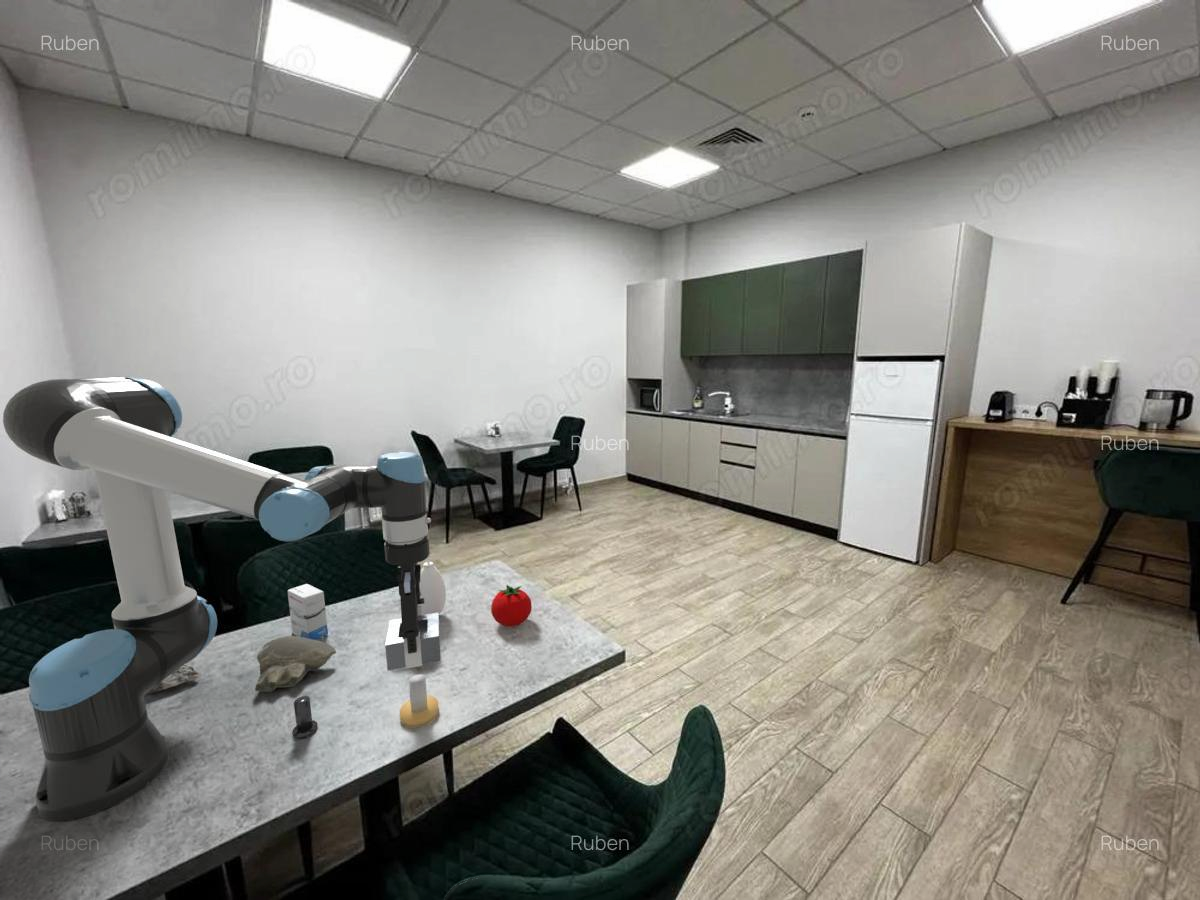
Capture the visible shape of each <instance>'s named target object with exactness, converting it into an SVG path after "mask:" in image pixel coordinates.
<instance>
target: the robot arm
mask: <svg viewBox="0 0 1200 900" xmlns="http://www.w3.org/2000/svg"><path fill="white" fill-rule="evenodd" d="M182 422H183V413H182V409H181V406H180V404H179V402H178V400H177V399H176V397H175V396H174V395H173V394H172V393H171V392H170V391H169V390H168V389H166V388H164V387H163V386H162V385H161V384H159V383H158V382H156V381H153V380H150V379H146V378H142V377H129V376H128V377H127V376H113V377H96V378H93V377H92V378H72V379H69V378H61V379H60V378H59V379H48V380H47V379H46V380H43V381H42V380H41V381H38V382H36V383H32V384H30V385H28V386H26V387H24V388H21V389H20V390H19V391H18V392H16V393H15V394H14V395H13V396H12V397H11V398H10V399H9V401H8V402H7V403H6V405H5V407H4V410H3V417H2V423H3V428H4V430H5V432H6V434H7V436H8V438H9V439H10V440H11V441H12V442H13V443H14V445H15V446H16V447H18V448H19V449H20V450H22V451H23V452H25V453H27V454H28V455H30V456H32V457H34V458H36V459H38V460H41V461H43V462H46V463H49V464H51V465H53V466H54V465H55V466H58V467H62V468H65V469H67V470H72V471H84V470H89V469H92V470H93V471H94V476H95V480H96V485H97V490H98V495H99V499H100V500H99V501H100V504H101V505H100V506H101V510H102V515H103V519H104V523H105V528H106V533H107V537H108V543H109V549H110V551H111V557H112V562H113V567H114V572H115V577H116V580H117V581H116V582H117V586H118V590H119V595H120V600H121V601H120V603H118V605H117V606H116V607H115V608H114V609H113V610H112V612H111V619H112V623H113V628H111V629H105V630H99V631H95V632H92V633H88V634H85V635H84V636H83V637H82V638H81V637H80V638H74V639H72V640H70V641H66V642H65V643H63V644H61V645H60V646H58V647H56V648H54V649H52V650H50V652H48V653H46V654H45V655H44V656H43V657H42V658H41V659H40V660H38V661H37V663H36V664H35V665H34V666H33V668H32V670H30V673H29V676H28V684H29V690H30V691H29V694H28V696H29V701H30V704H31V706H32V709H33V712H34V716H35V721H36V724H37V728H38V733H39V736H40V737H39V738H40V742H41V747H42V751H43V754H44V755H43V756H44V763H43V766H42V771H41V774H40V778H39V783H38V784H37V785H38V786H37V789H36V793H35V804H36V809H37V812H38V814H39V816H40V817H41V818H43V819H44V820H47V821H52V822H61V821H60V820H65V821H70V820H69V819H72V820H75V819H74V818H77V819H80V817H81V818H84V817H87V816H91V815H93V814H96V813H99V812H101V811H103V810H106V809H108V808H110V806H111V807H113V806H115V805H117V804H119V803H120V802H123V801H124V800H126V799H127V798H129V797H131V796H133V795H134V794H136V793H137V792H138V790H139V791H140V790H142V789H143V788H144V787H145V786H147V785H148V784H149V783H151V780H152V779H153V778H154V779H155V778H156V777H157V776H158V775H159V774H160V773H161V772H162V771H163V769H164V767H165V766H166V765H167V763H168V760H169V756H170V753H169V747H168V743H167V740H166V738H165V737H164V736H163V735H162V734H161V732H160V730H159V729H158V728H157V727H156V726H155V724H154V723H153V722H152V720H151V719H149V716H148V712H147V711H148V710H147V706H146V701H145V697H146V694H148V693H147V692H149V691H150V690H151V689H152V688H154V687H155V686H156V685H158V684H159V683H160V682H162V681H163V680H164V679H165V678H167V677H168V676H169V675H171V674H172V673H173V672H175V671H176V670H177V669H179V668H180V667H181V666H182V665H187V664H188V663H190V662H191V661H192V660H194V659H195V658H196V657H197V656H198V655H199V654H201V653H202V651H203V650H204V649H205V648H207V647H208V646H209V644H210V643H211V642H212V641H213V639H214V638H215V635H216V632H217V627H218V618H217V617H218V616H217V613H216V611H215V608H214V606H212V604H207V602H208V600H207V599H205V598H203V597H202V596H199V595H198V594H197V593H198V592H197V591H196V590H195V589H194V588H191V587H189V586H186V585H185V581H184V575H183V570H182V565H181V560H180V554H179V548H178V542H177V537H176V532H175V530H176V529H175V526H174V525H175V524H174V520H173V516H172V515H173V513H172V509H171V504H170V497H169V494H168V493H171V494H174V495H178V496H180V497H184V498H187V499H191V500H194V501H197V502H201V503H204V504H207V505H210V506H214V507H216V508H220V509H223V510H226V511H230V512H232V513H235V514H239V515H243V516H245V517H248V518H252V519H255V520H258V521H259V523H260V526H261V528H262V529H263V530H264V532H267V534H269V535H270V537H271V538H273V539H275V540H278V541H280V542H281V541H282V542H295V541H299V540H301V539H303V538H305V537H308V536H310V535H312V534H315V533H316V532H318V531H320V530H321V529H322V528H323V527H324V526H325V525H327V524H329V523H330V522H332V521H333V520H335V519H337V518H338V517H340V516H341V515H343V514H344V513H347V512H348V511H349V510H352V509H368V508H369V509H375V508H380V510H381V525H382V526H381V527H382V535H383V540H384V541H385V542H384V544H383V545H384V555H385V561H386V562H387V564H390V565H392V566H397V572H396V581H397V582H398V595H399V596H400V597H399V598H400V613H401V617H400V618H402V634H399V638H400V637H402V638H403V639H404V652H405V664H406V668H405V669H411V668H417V667H422V666H423V664H422V657H421V643H420V631H419V629H418V616H419V615H422V611H421V605H420V606H418V604H424V598H421V599H420V596H421V593H420V585H419V583H420V577H421V576H420V573H421V569H422V566H421V565H422V564H421V562H423V561H425V560H427V557H428V556H430V553H431V552H430V551H431V550H430V539H429V536H427V535H428V534H429V530H428V529H429V528H428V524H431V522H432V519H431V518H430V517H427V515H428V513H427V511H428V510H427V497H426V496H427V495H426V492H427V491H426V476H425V470H424V462H423V458H422V456H421V455H420V454H418V453H416V452H411V451H410V452H409V451H400V452H388V453H384V454H382V455H379V456H378V458H377V464H374V465H337V464H329V465H322V466H321V465H320V466H315V467H312V468H310V470H309V471H308V473H307V474H306V475H305V476H304V479H301V478H298V477H295V476H291V475H288V474H285V473H282V472H279V471H277V470H273V469H269V468H268V467H264V466H261V465H258V464H254V463H251V462H248V461H246V460H243V459H238V458H236V457H233V456H230V455H226V454H224V453H221V452H219V451H214V450H211V449H208V448H205V447H203V446H199V445H196V444H193V443H190V442H188V441H185V440H184V441H183V440H180V439H178V438H175V437H173V436H174V435H176V434H177V432H178V429H180V428H181V426H182ZM156 775H157V776H156ZM154 779H153V780H154ZM153 780H152V781H153ZM148 782H149V783H148ZM147 783H148V784H147ZM146 784H147V785H146ZM142 787H143V788H142ZM135 792H136V793H135Z"/></svg>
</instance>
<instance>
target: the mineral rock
mask: <svg viewBox="0 0 1200 900" xmlns="http://www.w3.org/2000/svg"><path fill="white" fill-rule="evenodd" d="M199 677H200V672H198V671H195V670H194V668H193V666H191V665H187V664H184V665H182V666H181V667H180V668H179V669H177V670H176V671H175V672H173V673H172V674H171V675H169V676H168V677H167V678H165V679H164V680H163V681H162V682H160V683H159V684H158V685H156V686H155V687H154V688H152V689H151V690H150V691H149V692H147V693H146V694H153V693H157V692H160V691H162V690H167V689H169V688H174V687H177V686H179V685H182V684H186V683H188V682H193V681H196V680H197V678H199Z"/></svg>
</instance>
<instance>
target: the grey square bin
mask: <svg viewBox="0 0 1200 900" xmlns="http://www.w3.org/2000/svg"><path fill="white" fill-rule="evenodd" d="M439 615H440V614H439V612H438V613H432V614H425V615H419V616H418V629H419V631H420V643H421V657H422V665H425V664H431V663H432V664H433V663H436V662H437V663H438V662H441V661H442V659H441V657H442V656H441V655H442V654H441V627H440V616H439ZM399 634H402V617H400V618H395V619H389V621H388V628H387V633H386V639H385V643H384V646H385V657H386V668H387V671H389V672H390V671H394V670H399V669H404V668H405V669H406V664H405V652H404V639H403V638H402V637H400V638H399Z"/></svg>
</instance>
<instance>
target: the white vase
mask: <svg viewBox="0 0 1200 900" xmlns="http://www.w3.org/2000/svg"><path fill="white" fill-rule="evenodd" d="M429 556H430V555H429ZM429 556H428V557H427V558H426V560H427V561H426V562H424V563H423V564H422V567H421V573H420V576H421V577H420V583H419V585H420V593H421V596H420V599H421V598H424V604H418V606H420V605H421V611H422V615H425V614H432V613H438V612H439V615H440V614H441V613H442V611H443V609H444V608H445V605H446V599H447V591H446V585H445V581H444V578H443V576H442V575H441V572H440V571H439V569H438V568H437V567H436V565H434V562H433V561H430V557H429Z"/></svg>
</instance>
